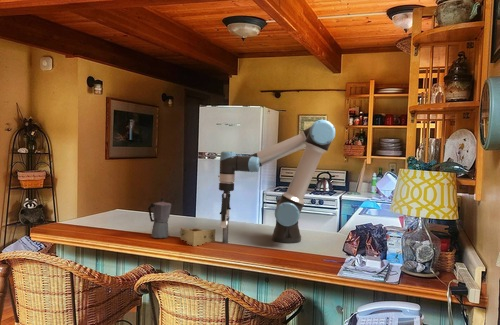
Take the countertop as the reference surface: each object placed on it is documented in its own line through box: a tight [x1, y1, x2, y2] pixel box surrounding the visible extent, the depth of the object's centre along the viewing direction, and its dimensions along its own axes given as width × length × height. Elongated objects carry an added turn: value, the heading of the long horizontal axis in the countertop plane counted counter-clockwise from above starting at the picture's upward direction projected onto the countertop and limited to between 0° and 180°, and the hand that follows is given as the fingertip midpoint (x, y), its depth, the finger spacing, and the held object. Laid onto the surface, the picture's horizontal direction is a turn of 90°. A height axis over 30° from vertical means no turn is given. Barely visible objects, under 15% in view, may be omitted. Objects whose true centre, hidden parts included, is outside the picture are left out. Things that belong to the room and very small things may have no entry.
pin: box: [221, 215, 230, 244], centre depth 200 cm, size 4×4×13 cm
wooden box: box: [180, 227, 216, 247], centre depth 201 cm, size 15×15×7 cm
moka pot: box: [147, 198, 172, 239], centre depth 208 cm, size 10×15×20 cm, turn 149°
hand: (224, 225), depth 200 cm, fingers open, 13 cm apart
